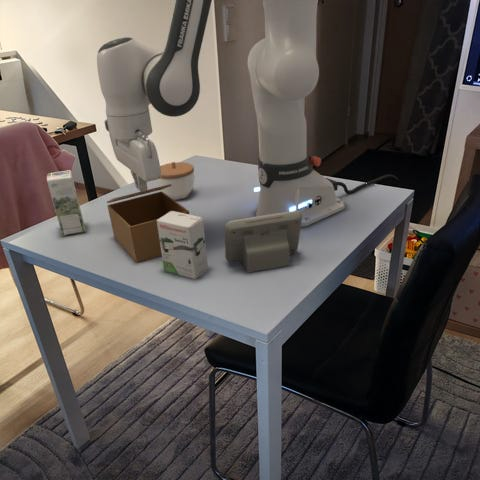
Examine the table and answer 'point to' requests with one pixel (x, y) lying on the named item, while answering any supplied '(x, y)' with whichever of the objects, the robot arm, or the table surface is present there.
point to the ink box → (183, 244)
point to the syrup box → (66, 202)
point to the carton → (141, 223)
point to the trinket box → (177, 179)
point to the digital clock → (263, 240)
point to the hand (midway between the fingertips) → (141, 189)
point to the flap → (138, 193)
